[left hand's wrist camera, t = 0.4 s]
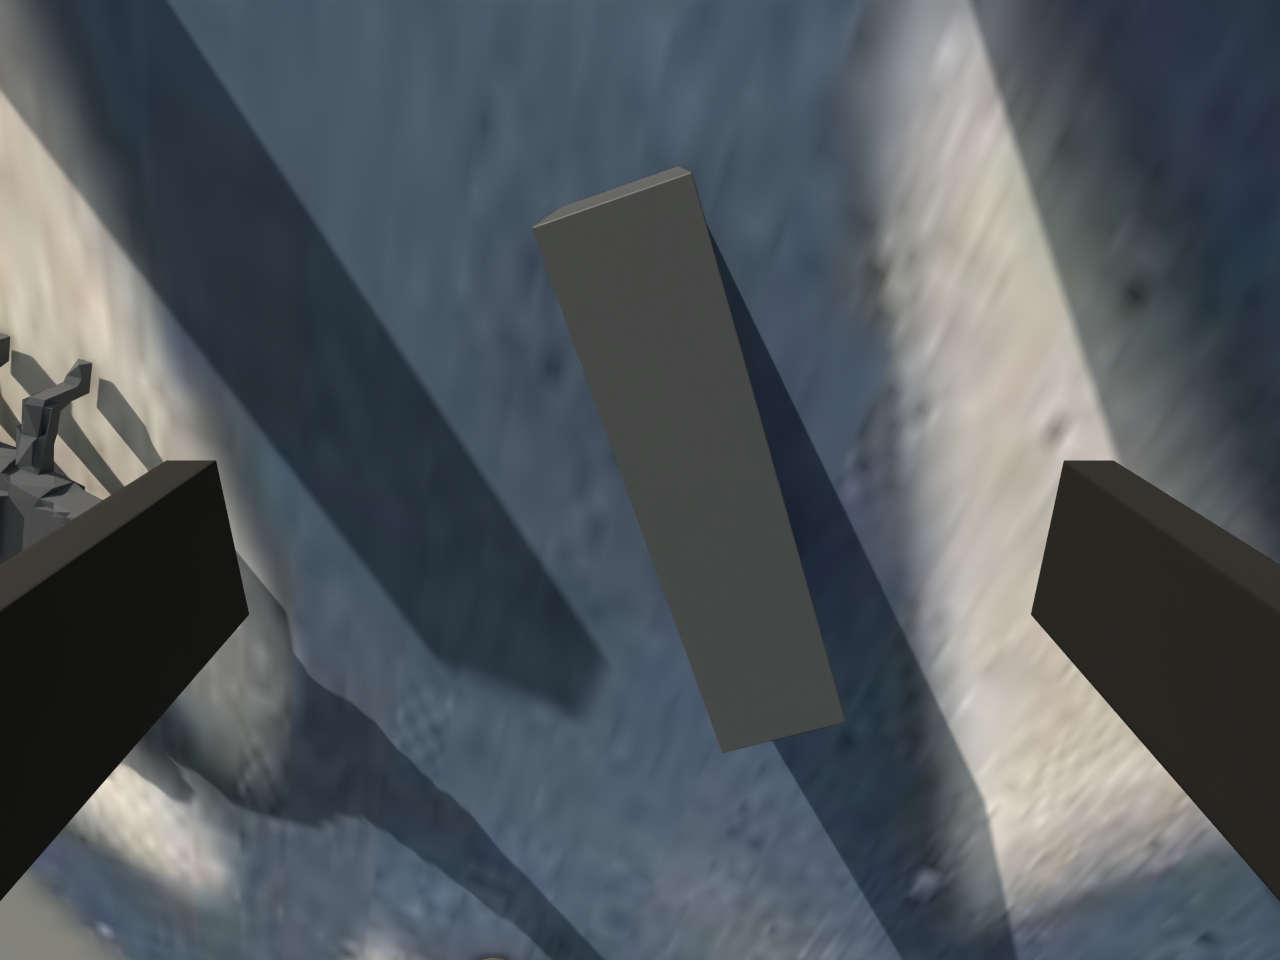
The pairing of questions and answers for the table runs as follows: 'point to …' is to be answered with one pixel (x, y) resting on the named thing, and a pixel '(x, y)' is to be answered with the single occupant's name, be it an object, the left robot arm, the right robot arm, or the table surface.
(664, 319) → the bar
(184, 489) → the left robot arm
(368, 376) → the table surface
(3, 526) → the toy
